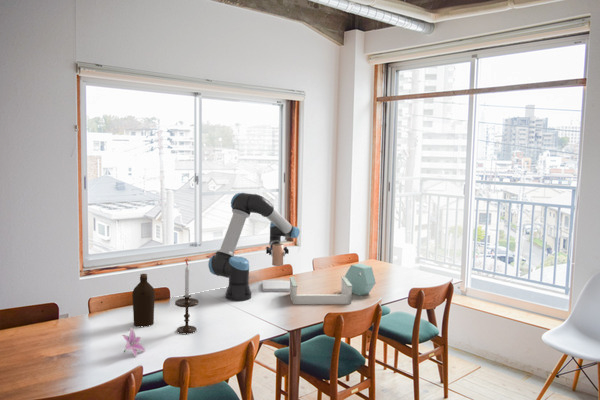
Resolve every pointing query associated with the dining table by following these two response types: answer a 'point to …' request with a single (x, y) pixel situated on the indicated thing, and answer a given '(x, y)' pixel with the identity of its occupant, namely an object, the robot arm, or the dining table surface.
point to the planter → (361, 278)
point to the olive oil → (143, 303)
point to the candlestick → (186, 305)
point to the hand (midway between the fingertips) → (278, 254)
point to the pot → (277, 254)
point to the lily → (133, 342)
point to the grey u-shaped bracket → (322, 295)
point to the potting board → (276, 286)
